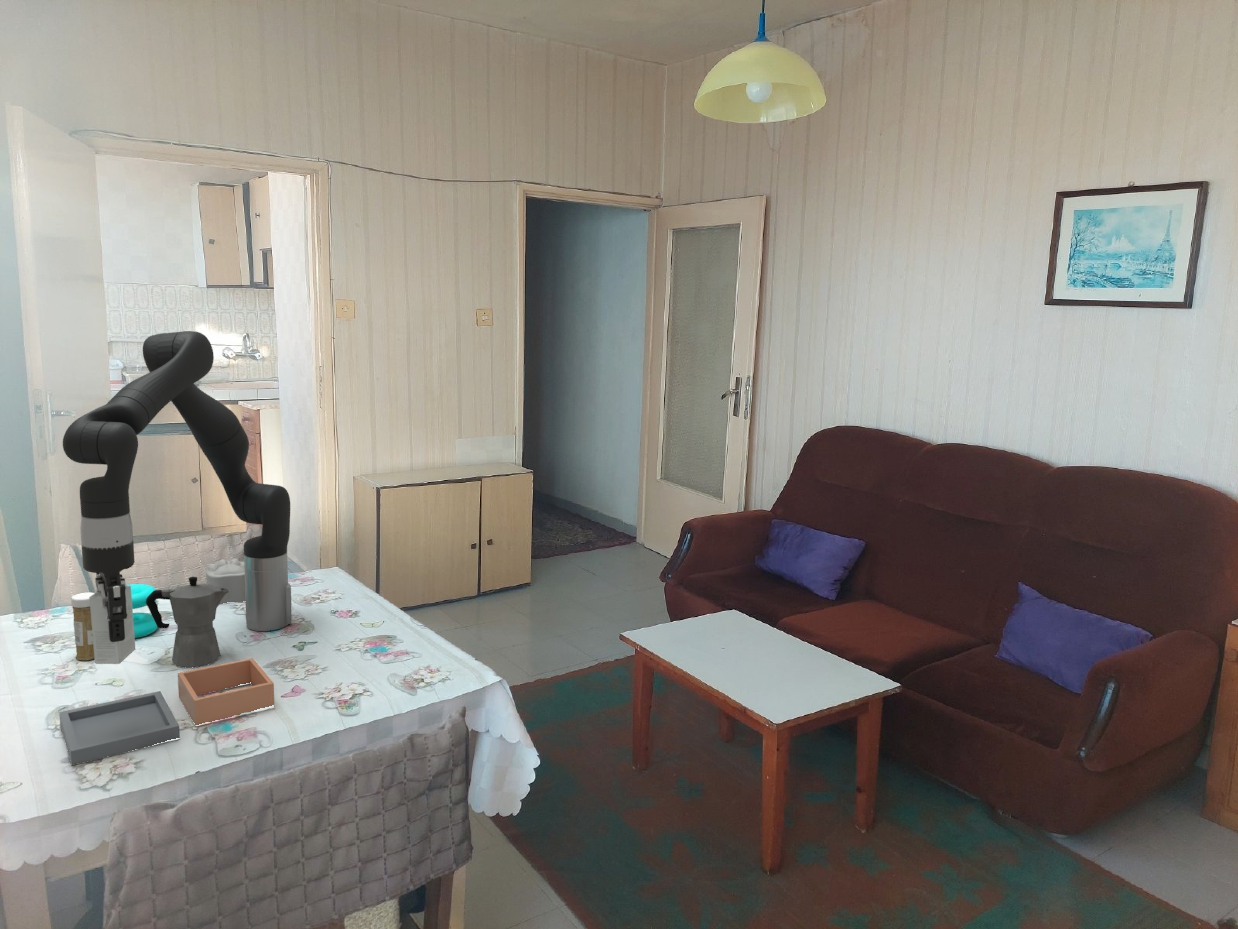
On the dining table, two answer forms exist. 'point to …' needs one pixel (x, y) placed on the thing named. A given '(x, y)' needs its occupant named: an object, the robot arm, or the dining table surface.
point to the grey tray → (117, 727)
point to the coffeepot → (191, 621)
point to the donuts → (142, 621)
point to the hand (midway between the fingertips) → (113, 633)
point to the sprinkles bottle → (83, 626)
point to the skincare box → (100, 630)
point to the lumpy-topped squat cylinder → (228, 579)
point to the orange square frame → (227, 701)
